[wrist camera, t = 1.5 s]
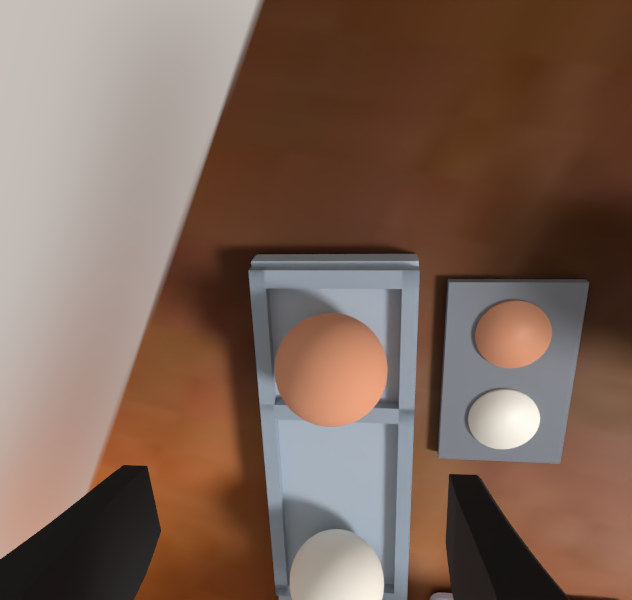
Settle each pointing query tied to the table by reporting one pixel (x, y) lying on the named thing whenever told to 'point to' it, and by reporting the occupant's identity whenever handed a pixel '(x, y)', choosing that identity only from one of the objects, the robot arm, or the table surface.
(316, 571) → the cream ball
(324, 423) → the rust ball
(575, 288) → the card
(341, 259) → the board
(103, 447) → the table surface
